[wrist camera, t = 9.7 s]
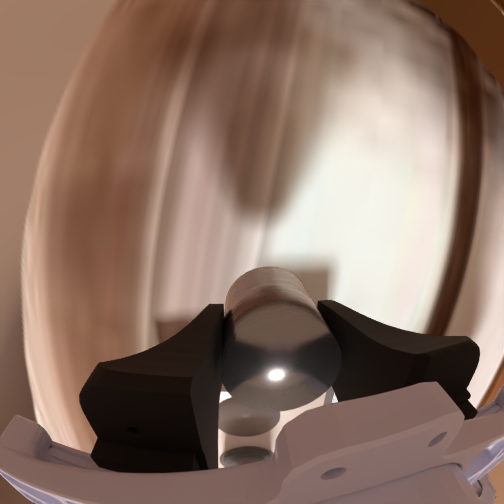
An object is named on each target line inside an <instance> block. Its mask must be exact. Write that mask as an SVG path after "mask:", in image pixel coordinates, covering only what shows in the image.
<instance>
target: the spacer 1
mask: <svg viewBox="0 0 504 504" xmlns="http://www.w3.org/2000/svg"><path fill="white" fill-rule="evenodd" d="M267 459H271V454H270V453H269V452H268V451H267V450H265V449H262V448H259V447H240V448H235V449H232V450H230V451H228V452H227V453H226V454H225V455H224V468H225V467H231V466H237V465H243V464H248V463H253V462H258V461H263V460H267Z"/></svg>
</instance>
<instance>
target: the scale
mask: <svg viewBox="0 0 504 504" xmlns="http://www.w3.org/2000/svg"><path fill="white" fill-rule="evenodd" d="M333 395H334V390H333V388H332V386H331V387H330V388H329V389H328V390H327V391H326V392H325V393H324V394H323V395H321V396H320V397H319V398H317V399H316V400H314V401H312V402H311V403H309V404H307V405H304V406H302V407H299V408H296V409H292V410H288V411H281V412H266V411H259V410H255V409H252V408H249V407H246V406H244V405H242V404H241V403H239V402H238V401H236V400H235V399H234V398H233V397H231V396H230V394H229V393H228V392H227V390H226V389H225V387H224V385H223V382H222V388H221V394H220V401H219V421H218V468H224V455H225V454H226V453H227V452H228V451H230V450H232V449H235V448H240V447H259V448H262V449H265V450H267V451H268V452H269V453H270V454H271V459H272V457H273V455H274V450H275V441H276V438H277V436H278V435H279V433H280V431H281V429H282V428H283V426H284V425H285V424H286V423H288V422H289V421H291V420H292V419H294V418H295V417H297V416H298V415H300V414H301V413H303V412H304V411H306V410H310V409H313V408H317V407H320V406H323V405H326V404H330V403H332V399H333Z"/></svg>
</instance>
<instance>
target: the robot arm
mask: <svg viewBox="0 0 504 504" xmlns="http://www.w3.org/2000/svg"><path fill="white" fill-rule="evenodd" d="M317 308H318V310H319V312H320V313H321V315H322V317H323V318H324V320H325V322H326V324H327V325H328V327H329V329H330V330H331V332H332V334H333V335H334V337H335V339H336V340H337V342H338V344H339V347H340V349H341V354H342V362H341V368H340V371H339V374H338V376H337V378H336V380H335V381H334V383H333V384H332V385H331V386H332V388H333V390H334V392H335V395H336V397H337V400H338V402H336V403H330V404H326V405H323V406H320V407H317V408H313V409H310V410H306V411H304V412H303V413H301V414H300V415H298V416H297V417H295V418H294V419H292V420H291V421H289V422H288V423H286V424H285V425H284V426H283V428H282V429H281V431H280V433H279V435H278V436H277V438H276V441H275V450H274V455H273V457H272V459H267V460H263V461H258V462H253V463H248V464H243V465H237V466H231V467H225V468H218V421H219V401H220V394H221V388H222V379H221V357H222V342H223V328H224V304H209V305H208V306H207V307H206V308H205V309H204V310H203V311H202V312H201V313H200V314H199V315H198V316H197V317H196V318H195V319H194V320H193V321H192V322H191V323H190V324H188V325H187V326H186V327H185V328H184V329H182V330H181V331H180V332H178V333H177V334H176V335H174V336H173V337H171V338H169V339H168V340H166V341H164V342H163V343H161V344H159V345H157V346H154V347H152V348H150V349H148V350H146V351H143V352H141V353H138V354H135V355H132V356H128V357H125V358H121V359H116V360H111V361H106V362H100V363H98V365H97V366H96V367H95V369H94V370H93V372H92V373H91V375H90V377H89V378H88V380H87V381H86V383H85V385H84V386H83V388H82V390H81V392H80V394H79V402H80V405H81V408H82V410H83V412H84V414H85V416H86V418H87V420H88V421H89V423H90V425H91V427H92V429H93V430H94V432H95V434H96V435H97V437H98V439H97V441H96V443H95V446H94V448H93V450H92V453H91V454H89V453H86V452H83V451H80V450H77V449H73V448H71V447H68V446H65V445H62V444H59V443H57V442H54V441H52V439H51V438H50V436H49V434H48V433H47V431H46V430H45V429H44V428H43V427H42V426H40V425H39V424H37V423H35V422H33V421H31V420H28V419H26V418H24V417H21V416H19V415H15V416H14V418H13V419H12V420H11V422H10V423H9V425H8V426H7V428H6V429H5V431H4V432H3V434H2V435H1V437H0V474H1V475H2V476H3V477H4V478H5V479H6V480H7V481H8V482H9V483H10V484H11V485H12V486H13V487H15V488H16V489H17V490H18V491H19V492H20V493H21V494H22V495H24V496H25V497H26V498H27V499H29V500H30V501H32V502H34V503H36V504H493V503H494V501H495V499H496V495H495V494H496V489H495V488H494V486H493V484H492V482H491V479H490V477H489V475H488V474H487V472H489V471H490V470H491V469H492V468H494V467H495V466H496V465H497V464H498V463H500V462H501V461H502V460H503V459H504V385H503V386H502V387H501V389H500V390H499V392H498V394H497V395H496V397H495V400H494V401H492V402H490V403H489V404H487V405H485V406H484V407H482V408H480V409H478V410H476V409H475V408H474V407H473V405H472V404H471V403H470V402H469V401H468V399H469V398H470V396H471V394H470V393H469V392H468V391H467V387H468V385H469V383H470V381H471V379H472V377H473V375H474V373H475V370H476V368H477V365H478V363H479V358H480V349H479V347H478V345H477V344H476V343H475V342H474V341H472V340H471V339H470V338H469V337H467V336H436V335H427V334H420V333H415V332H410V331H406V330H402V329H398V328H395V327H392V326H389V325H386V324H383V323H380V322H378V321H376V320H373V319H371V318H369V317H367V316H364V315H362V314H360V313H358V312H356V311H354V310H352V309H350V308H348V307H346V306H344V305H342V304H340V303H338V302H336V301H333V300H321V301H318V305H317ZM480 496H481V497H480ZM479 497H480V499H479Z"/></svg>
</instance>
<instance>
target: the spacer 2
mask: <svg viewBox="0 0 504 504" xmlns="http://www.w3.org/2000/svg"><path fill="white" fill-rule="evenodd" d="M341 362H342V354H341V349H340V347H339V344H338V342H337V340H336V339H335V337H334V335H333V334H332V332H331V330H330V329H329V327H328V325H327V324H326V322H325V320H324V318H323V317H322V315H321V313H320V312H319V310H318V308H317V307H316V305H315V303H314V302H313V300H312V299H311V297H310V295H309V294H308V292H307V290H306V289H305V287H304V285H303V284H302V282H301V281H300V280H299V279H298V278H297V277H296V276H295V275H294V274H292V273H291V272H289V271H287V270H285V269H281V268H277V267H260V268H256V269H253V270H250V271H248V272H246V273H245V274H243V275H242V276H240V277H239V278H238V279H237V280H236V281H235V282H234V283H233V285H232V286H231V288H230V289H229V291H228V294H227V297H226V302H225V315H224V328H223V342H222V357H221V379H222V382H223V385H224V387H225V389H226V390H227V392H228V393H229V394H230V396H231V397H233V398H234V399H235V400H236V401H238V402H239V403H241V404H242V405H244V406H246V407H249V408H252V409H255V410H259V411H266V412H281V411H288V410H292V409H296V408H299V407H302V406H304V405H307V404H309V403H311V402H312V401H314V400H316V399H317V398H319V397H320V396H321V395H323V394H324V393H325V392H326V391H327V390H328V389H329V388H330V387H331V385H332V384H333V383H334V381H335V380H336V378H337V376H338V374H339V371H340V368H341Z"/></svg>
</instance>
